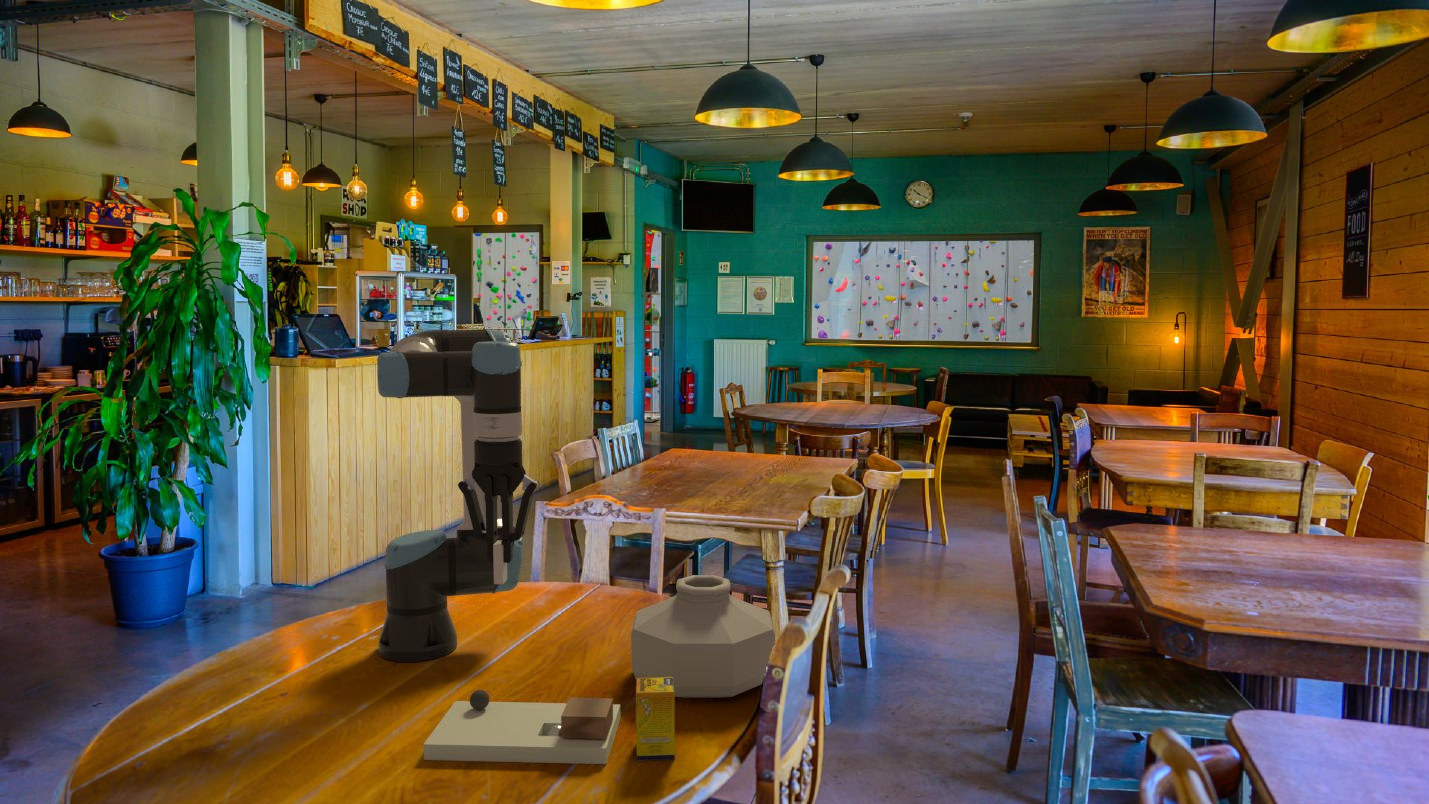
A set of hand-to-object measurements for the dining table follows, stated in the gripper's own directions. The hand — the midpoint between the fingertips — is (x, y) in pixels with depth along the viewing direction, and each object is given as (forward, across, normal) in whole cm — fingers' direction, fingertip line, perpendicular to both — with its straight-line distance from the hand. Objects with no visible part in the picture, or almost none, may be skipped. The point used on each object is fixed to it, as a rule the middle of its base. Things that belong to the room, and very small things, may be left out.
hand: (500, 581), depth 157 cm
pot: (+25, +32, +22) cm, 46 cm away
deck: (+24, +5, -4) cm, 25 cm away
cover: (+22, +15, -6) cm, 27 cm away
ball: (+23, +10, -7) cm, 26 cm away
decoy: (+20, -4, 0) cm, 21 cm away
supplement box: (+25, +26, -8) cm, 37 cm away
